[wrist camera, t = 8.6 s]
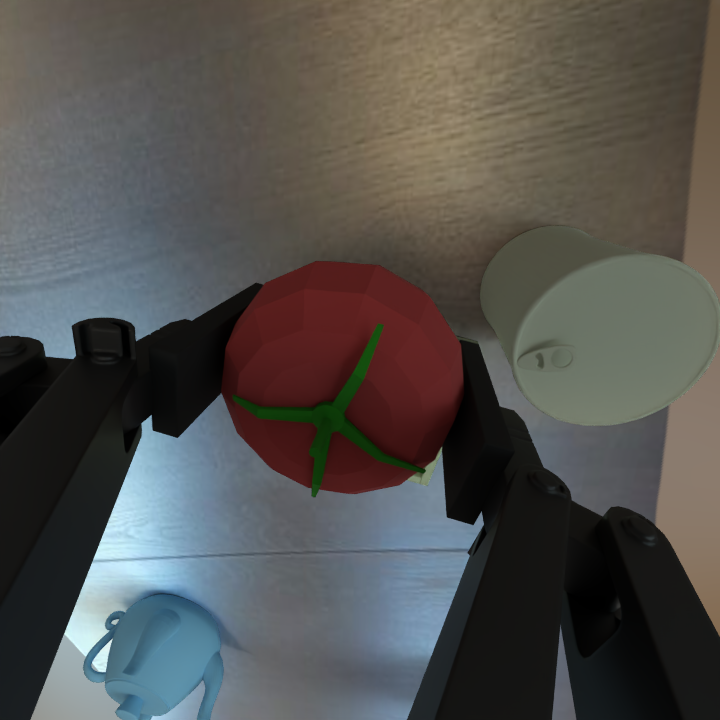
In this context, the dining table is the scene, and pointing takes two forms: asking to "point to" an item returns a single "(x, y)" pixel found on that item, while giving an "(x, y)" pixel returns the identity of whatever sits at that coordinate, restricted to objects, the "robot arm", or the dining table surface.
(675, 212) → the dining table surface
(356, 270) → the tomato
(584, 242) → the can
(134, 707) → the teapot
